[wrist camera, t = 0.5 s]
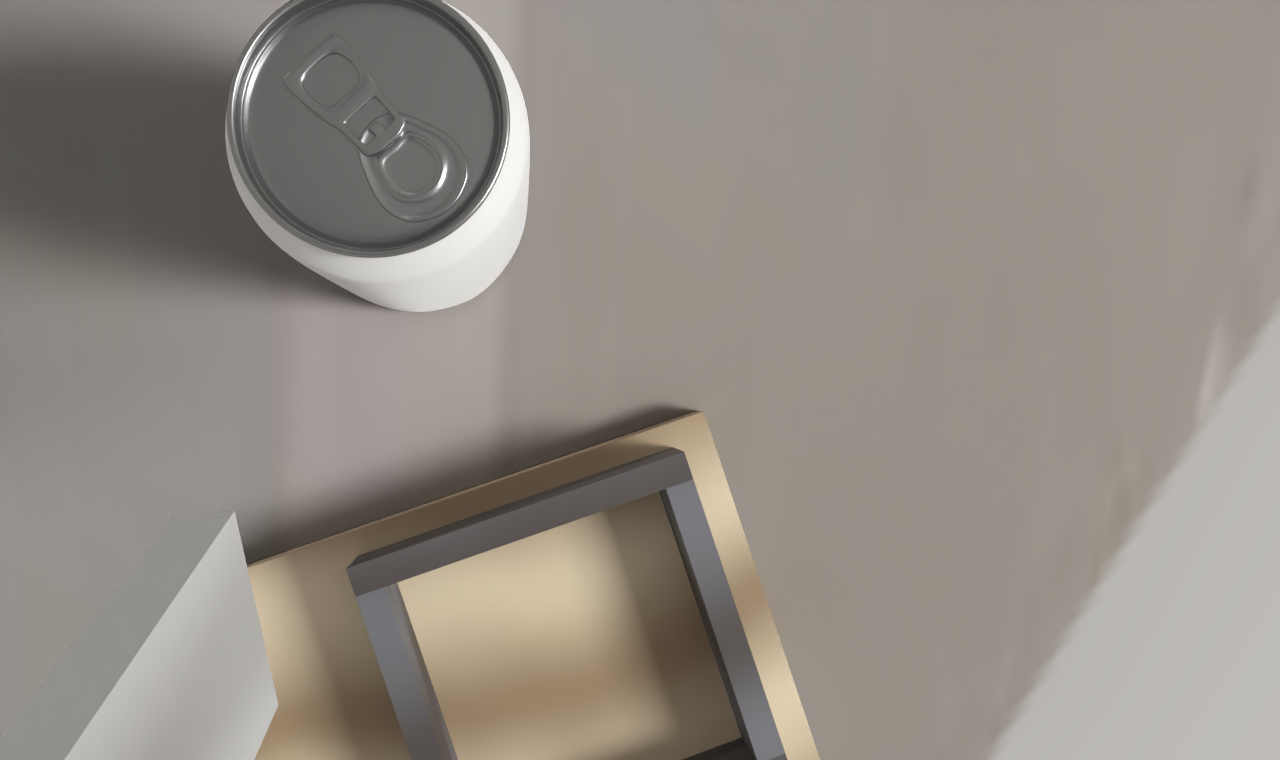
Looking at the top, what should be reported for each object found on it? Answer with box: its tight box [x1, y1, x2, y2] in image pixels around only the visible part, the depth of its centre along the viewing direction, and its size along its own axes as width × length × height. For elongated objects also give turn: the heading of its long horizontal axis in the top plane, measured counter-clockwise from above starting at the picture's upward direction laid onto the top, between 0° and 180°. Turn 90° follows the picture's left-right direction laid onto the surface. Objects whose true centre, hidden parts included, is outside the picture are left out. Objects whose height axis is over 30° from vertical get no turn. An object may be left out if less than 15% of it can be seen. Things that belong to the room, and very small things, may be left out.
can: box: [225, 0, 530, 312], centre depth 30 cm, size 6×6×12 cm
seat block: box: [247, 411, 820, 760], centre depth 35 cm, size 11×16×4 cm
